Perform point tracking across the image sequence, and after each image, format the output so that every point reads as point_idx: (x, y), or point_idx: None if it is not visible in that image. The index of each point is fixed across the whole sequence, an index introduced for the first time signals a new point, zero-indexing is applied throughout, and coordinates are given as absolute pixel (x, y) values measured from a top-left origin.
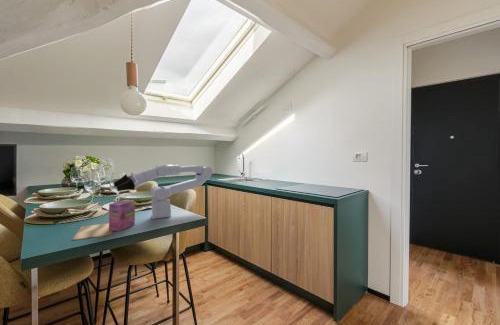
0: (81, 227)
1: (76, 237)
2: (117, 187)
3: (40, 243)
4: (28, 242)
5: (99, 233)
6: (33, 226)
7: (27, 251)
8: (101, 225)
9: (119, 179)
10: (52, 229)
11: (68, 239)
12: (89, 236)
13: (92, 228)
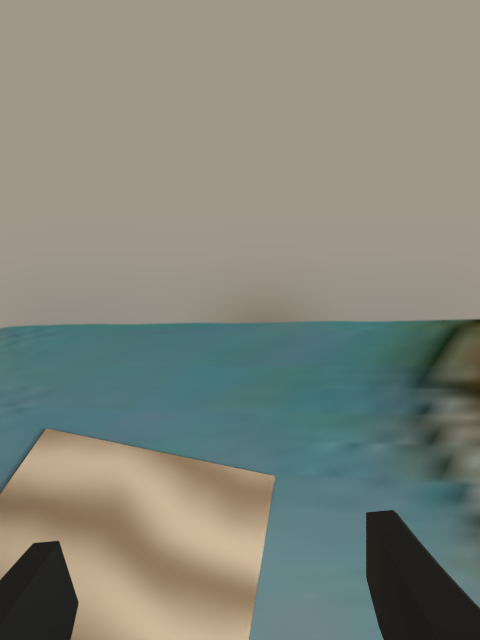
0: (252, 474)
1: (62, 444)
2: (27, 563)
3: (125, 350)
4: (174, 326)
5: (14, 553)
6: (414, 330)
7: (62, 327)
8: (215, 588)
9: (471, 629)
10: (319, 377)
11: (83, 421)
12: (12, 497)
13: (179, 525)
